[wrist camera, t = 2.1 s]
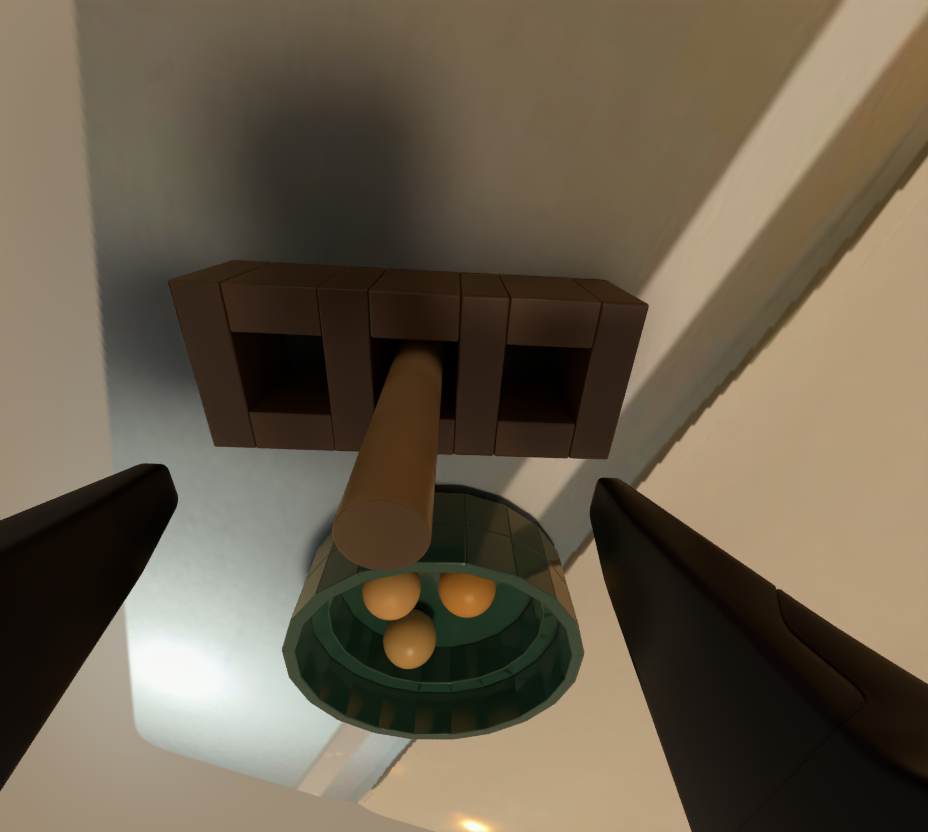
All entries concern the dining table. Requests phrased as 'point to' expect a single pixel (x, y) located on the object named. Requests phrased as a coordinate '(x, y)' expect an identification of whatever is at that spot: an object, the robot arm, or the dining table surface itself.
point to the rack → (414, 318)
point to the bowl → (442, 632)
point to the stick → (396, 466)
